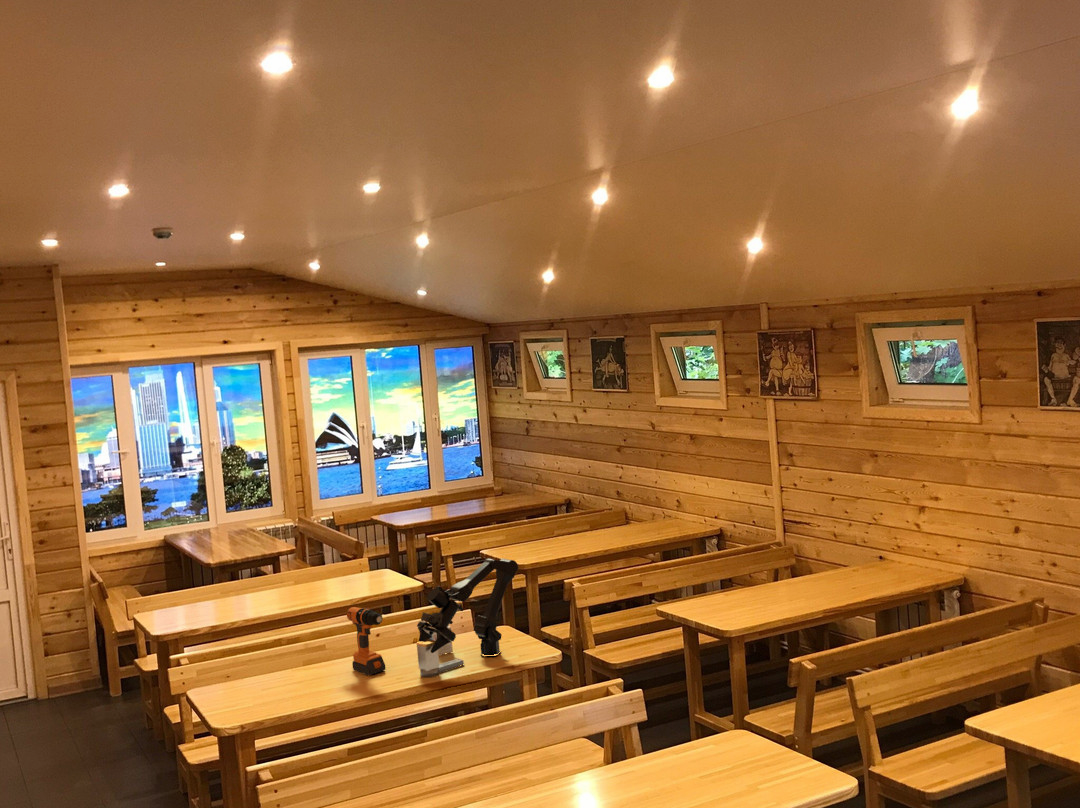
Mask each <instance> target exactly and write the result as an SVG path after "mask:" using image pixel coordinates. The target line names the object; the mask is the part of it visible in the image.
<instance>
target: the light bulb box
mask: <svg viewBox="0 0 1080 808" xmlns="http://www.w3.org/2000/svg"><path fill="white" fill-rule="evenodd" d="M431 626H432V625H431ZM447 628H449V629H450V630H451V631H452V627H451V626H450V625H448V627H447ZM431 636H432V637H431V638H430V639H431V640H435V641H436V639H437V633H433V634H432V635H431ZM449 652H453V653H454V651H453V641H451V642H450V643H448V644H446V645H444V646H443V647H441V648H440V649H438V655H441V654H445V653H449ZM441 656H442V655H441Z"/></svg>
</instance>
